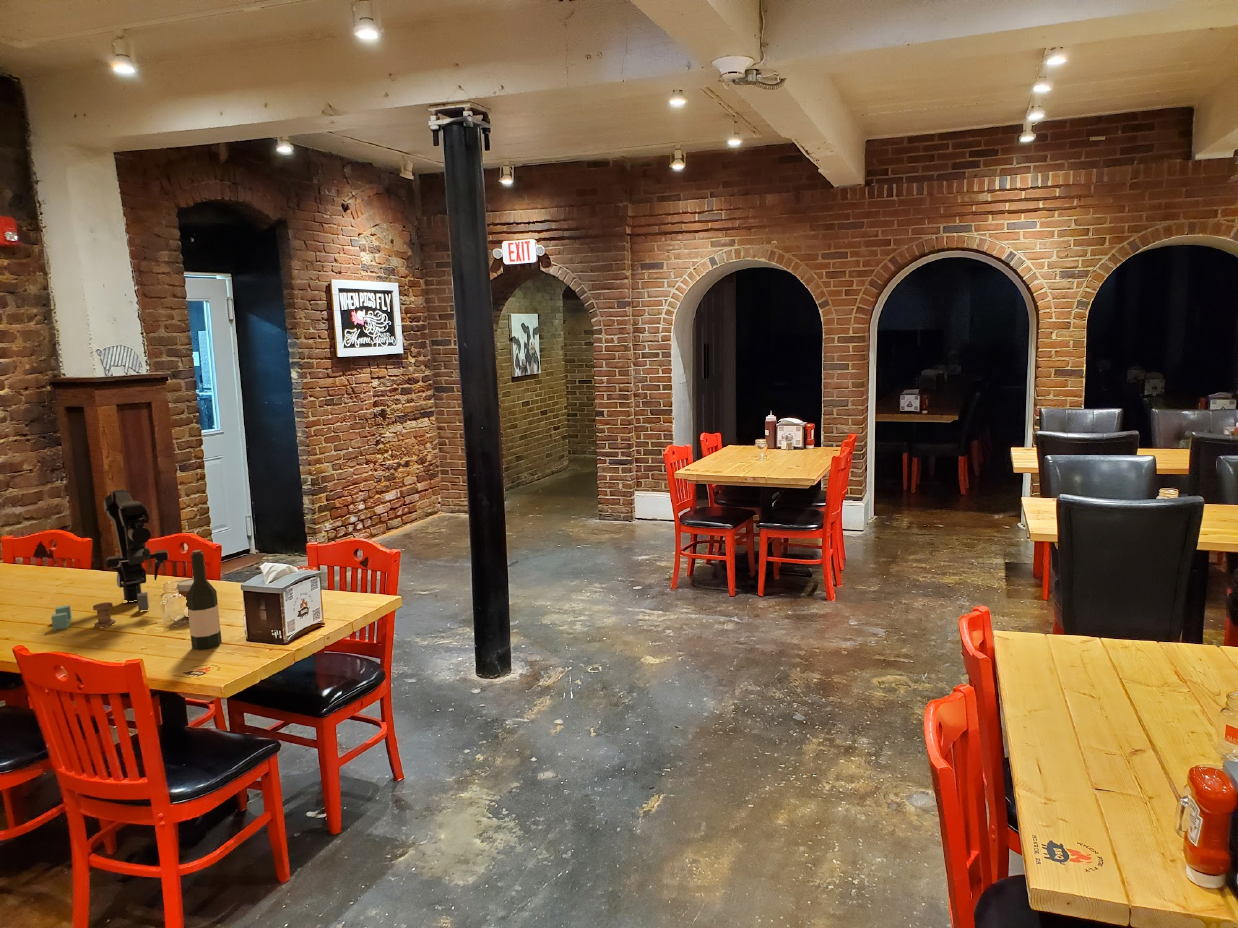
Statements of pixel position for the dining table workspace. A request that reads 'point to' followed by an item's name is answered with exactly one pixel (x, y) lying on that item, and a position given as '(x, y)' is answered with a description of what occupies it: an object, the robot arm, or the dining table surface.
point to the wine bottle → (202, 608)
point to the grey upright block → (142, 601)
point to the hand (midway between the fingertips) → (140, 582)
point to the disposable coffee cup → (184, 587)
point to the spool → (103, 614)
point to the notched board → (61, 617)
